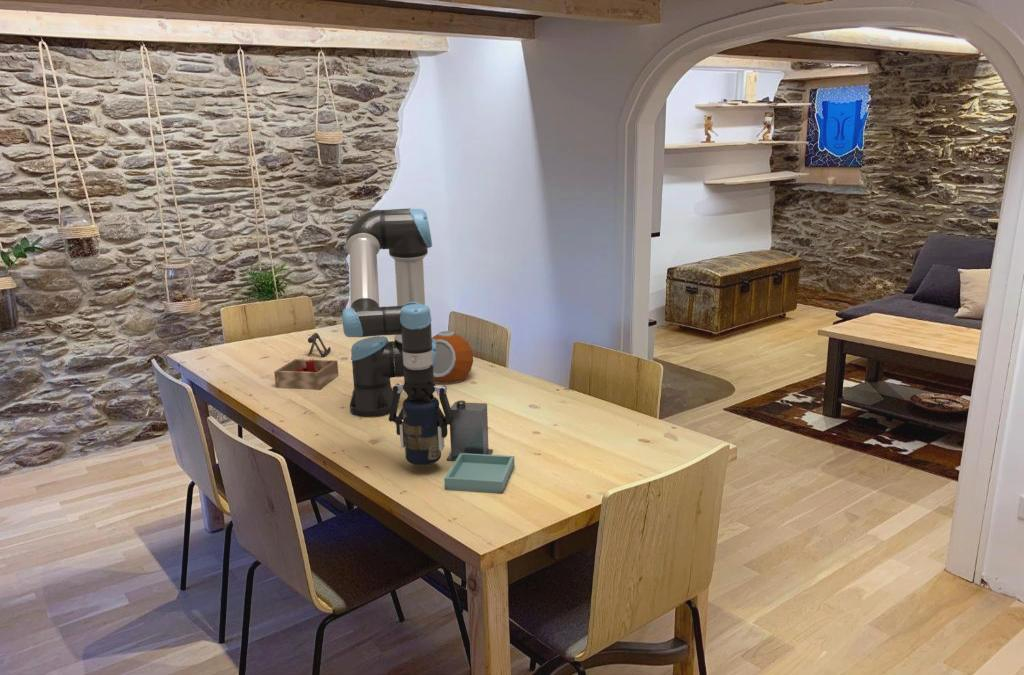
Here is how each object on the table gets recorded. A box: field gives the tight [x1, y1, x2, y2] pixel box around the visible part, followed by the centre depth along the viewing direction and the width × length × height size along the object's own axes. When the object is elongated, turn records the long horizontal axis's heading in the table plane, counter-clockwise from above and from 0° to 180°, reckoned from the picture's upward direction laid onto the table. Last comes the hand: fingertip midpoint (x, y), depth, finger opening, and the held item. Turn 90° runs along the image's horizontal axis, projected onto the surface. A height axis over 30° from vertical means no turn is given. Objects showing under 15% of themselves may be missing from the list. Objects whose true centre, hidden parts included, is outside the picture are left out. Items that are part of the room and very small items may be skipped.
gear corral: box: [274, 358, 340, 390], centre depth 271 cm, size 17×16×6 cm
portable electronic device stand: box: [307, 332, 332, 358], centre depth 306 cm, size 9×8×8 cm
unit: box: [446, 400, 494, 462], centre depth 201 cm, size 11×8×16 cm
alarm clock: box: [432, 330, 474, 385], centre depth 269 cm, size 19×18×17 cm
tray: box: [443, 453, 515, 494], centre depth 189 cm, size 15×16×3 cm
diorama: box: [297, 359, 321, 372], centre depth 271 cm, size 11×12×8 cm
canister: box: [402, 396, 442, 466], centre depth 193 cm, size 10×10×18 cm
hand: (422, 447), depth 195 cm, fingers closed on canister, 10 cm apart
